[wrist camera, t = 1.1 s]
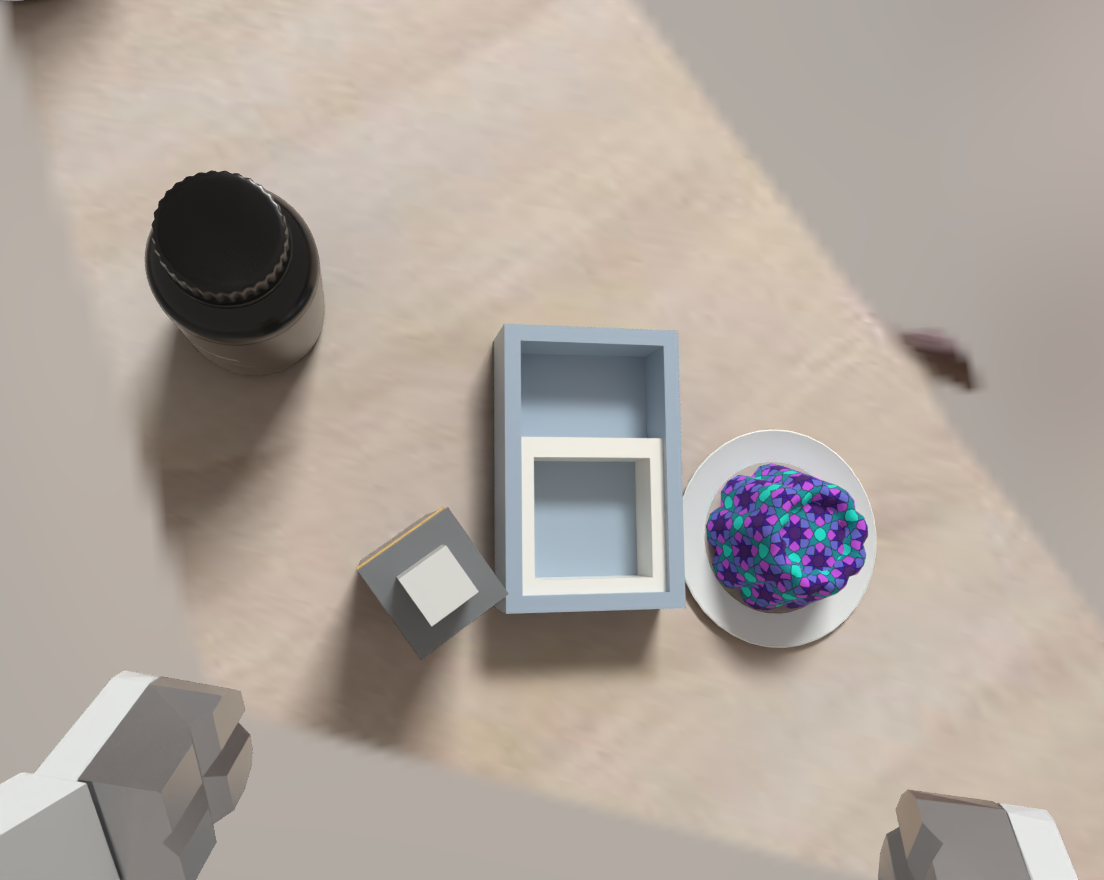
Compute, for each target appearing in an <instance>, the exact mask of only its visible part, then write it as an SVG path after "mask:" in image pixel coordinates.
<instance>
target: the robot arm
mask: <svg viewBox="0 0 1104 880" xmlns="http://www.w3.org/2000/svg"><path fill="white" fill-rule="evenodd" d="M0 1H22V0H0ZM244 712H245V706H244V702H243V698H242V694H241V691H238V690H234V689H229V688H223V687H218V686H212V685H207V684H201V683H196V682H190V681H184V680H179V679H173V678H168V677H162V676H155V675H148V674H143V673H137V672H131V671H123V672H121V673H120V674H118V675H116V676H114V677H113V678H112V679H110V681H109V682H108V683H107V684H106V685H105V687H104V688H103V689H102V690H101V692H100V693H99V694H98V695H97V696H96V698H95V699H94V700H93V701H92V702H91V704H90V705H89V706H88V707H87V709H86V710H85V711H84V712H83V714H82V715H81V716H80V717H79V718H78V720H77V721H76V722H75V723H74V724H73V726H72V727H71V728H70V730H69V731H68V732H67V733H66V734H65V736H64V737H63V738H62V739H61V740H60V742H59V743H58V744H57V745H56V747H55V748H54V749H53V750H52V752H51V753H50V754H49V755H48V756H47V758H46V759H45V760H44V761H43V762H42V764H41V765H40V766H39V767H38V769H37V770H36V771H35V772H34V773H33V774H32V773H24V772H21V773H20V774H18V775H16V776H14V777H12V778H10V779H9V780H7V781H5V782H3V783H1V784H0V880H196V879H197V877H198V875H199V873H200V871H201V870H202V868H203V866H204V864H205V862H206V860H207V859H208V857H209V855H210V853H211V851H212V849H213V848H214V846H215V844H216V836H215V831H214V825H213V824H214V823H216V822H217V821H219V820H220V819H222V818H223V817H225V816H226V815H227V814H229V813H231V812H232V811H233V810H234V809H235V807H236V805H237V803H238V801H239V799H240V797H241V796H242V794H243V792H244V789H245V786H246V783H247V780H248V777H249V773H250V770H251V766H252V750H253V749H252V742H251V736H250V734H249V733H248V732H247V731H246V730H245V729H244V728H243V727H242V726H241V725H240V724H239V720H240V718H241V717H242V715H243V713H244ZM896 814H897V819H898V823H899V827H898V828H897V829H895V830H893V831H891V832H889V833H888V834H886V837H885V840H884V843H883V846H882V849H881V852H880V861H879V872H878V880H1079V879H1078V876H1077V874H1076V872H1075V869H1074V867H1073V864H1072V862H1071V860H1070V857H1069V855H1068V852H1067V850H1066V848H1065V845H1064V843H1063V840H1062V838H1061V836H1060V833H1059V831H1058V828H1057V826H1056V824H1055V821H1054V819H1053V818H1052V817H1051V816H1050V814H1049V813H1048V812H1047V811H1046V810H1042V809H1036V808H1029V807H1022V806H1016V805H1009V804H1002V803H995V802H993V801H987V800H980V799H973V798H965V797H958V796H951V795H943V794H936V793H929V792H922V791H914V790H907V791H906V792H905V793H903V794H902V795H901V797H900V800H899V802H898V805H897V807H896Z"/></svg>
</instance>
